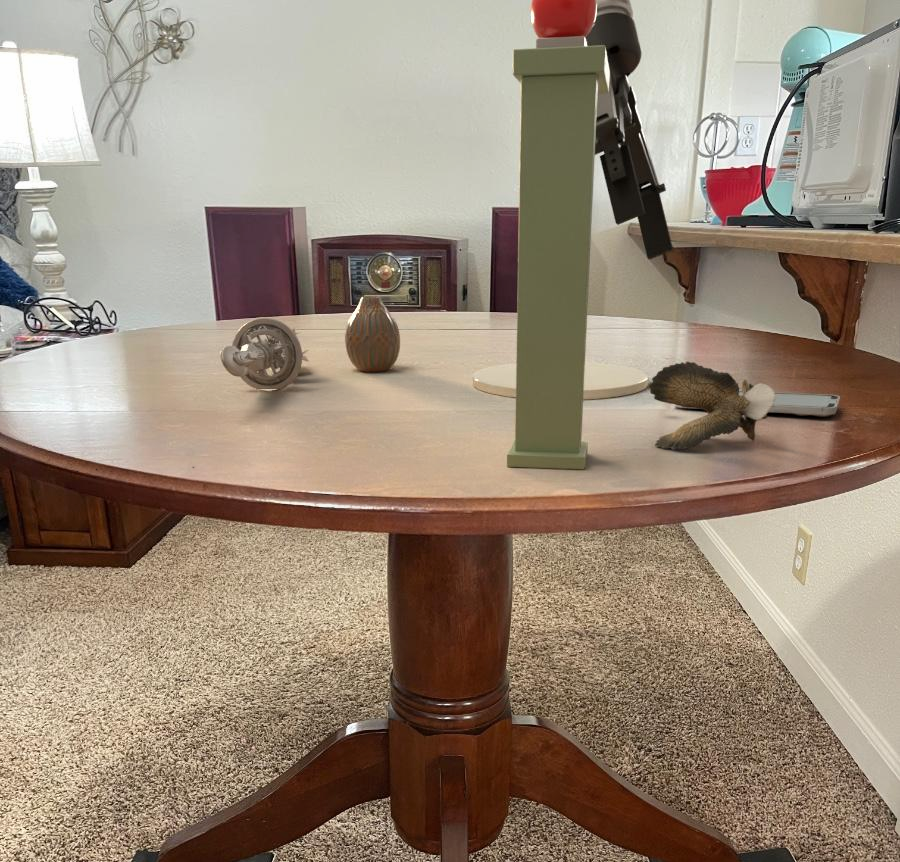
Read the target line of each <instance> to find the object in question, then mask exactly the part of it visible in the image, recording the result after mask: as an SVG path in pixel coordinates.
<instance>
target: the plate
mask: <svg viewBox="0 0 900 862" xmlns="http://www.w3.org/2000/svg"><path fill="white" fill-rule="evenodd" d="M649 378H650V377H649V374H648V373H647V372H645V371H643V370H640V369H639V368H635V367H630V366H625V365H620V364H619V365H618V364H612V363H602V362H591V361H585V373H584V394H583V401H585V400H586V401H587V400H597V399H599V400H601V399H609V398H611V399H612V398H617V397H618V398H619V397H624V396H628V395H629V396H630V395H633V394H636V393H639V392H643V391H644V390H646V389H648V385H649V380H650V379H649ZM472 385H473V387H474V388H476V389H477V390H479V391H482V392H484V393H487V394H492V395H497V396H502V397H510V398H516V362H513V363H504V364H497V365H492V366H487V367H484V368H481V369H479V370H477V371H474V373H473V374H472Z"/></svg>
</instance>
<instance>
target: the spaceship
mask: <svg viewBox="0 0 900 862" xmlns="http://www.w3.org/2000/svg"><path fill="white" fill-rule="evenodd" d="M301 333H302V332H300V334H301ZM298 334H299V332H296V330H295V327H293V328H291V327H289V326H288V325H287V324H285V323H284V322H282V321H280V320H279V319H275V318H272V317H257V318H253V319H251V320H249V321H247V322H246V323H244V324H243V325H242V326H241V327H240V328H239V329H238V330H237V332H236V333H235V335H234V338H233V340H232V344H231V345H226V346H224V347H222V349H221V350H220V352H219V354H220V355H219V359H220V361H221V363H222V366H223V368H224V369H225V370H226V371H227V372H228V373H229V374H230V375H231V376H234V377H237V378H240V379H241V380H242V381H243V382H244V383H245V384H246V385H248V386H250V387H251V388H252V389H255V388H256V389H255V390H258V389H280V390H283V389H285V388H287V387H288V386H290V384H292V383H293V382H294V380H296V378H297V377H298V375H299V373H300V371H301V367H302V364H303V361H305V362H310V360H309V358H308V357H307V356H306V355H305V354H306V353H307V352H308V351H310V349H305V350H304V351H303V350H302V349H303V348H302V346H301V343H300V340H299V338H298V336H297V335H298ZM261 336H265V337H266V338H263V339H262V338H261ZM255 338H256V339H257V342H256V341H253V340H254V339H255ZM278 369H279V370H278ZM268 370H269V371H272V373H273V374H268V372H267V371H268ZM276 370H278V371H276Z"/></svg>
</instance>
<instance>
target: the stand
mask: <svg viewBox="0 0 900 862" xmlns="http://www.w3.org/2000/svg"><path fill="white" fill-rule="evenodd" d="M512 75H513V77H514V78H515V79H516V80H517V81H518V83H520V121H519V122H520V125H519V129H520V130H519V180H518V181H519V183H518V184H519V187H518V239H517V242H518V245H517V299H516V301H517V302H516V303H517V304H516V305H517V306H516V308H517V309H516V310H517V311H516V358H515V359H516V361H515V363H516V397H515V417H514V418H515V419H514V420H515V423H514V424H515V425H514V428H515V429H514V440H513V442H512V444H511V446H510V448H509V450H508V452H507V454H506V468H507V467H508V468H529V469H530V468H531V469H557V470H585V469H586V463H587V457H588V451H589V450H588V449H589V442H588V441H582V436H583V435H582V434H583V433H582V432H583V413H584V400H583V394H584V373H585V362H586V352H587V351H586V350H587V348H586V347H587V329H588V328H587V327H588V307H589V306H588V305H589V287H590V285H589V284H590V267H591V266H590V264H591V243H592V220H593V218H592V217H593V199H594V179H595V157H596V155H595V141H596V140H595V138H596V117H597V96H598V94H605V93H609V78H610V71H609V65H608V59H607V53H606V47H605V45H598V46H576V47H555V48H536V47H535V48H516V49H513V50H512Z"/></svg>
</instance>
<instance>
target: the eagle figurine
mask: <svg viewBox="0 0 900 862" xmlns="http://www.w3.org/2000/svg"><path fill="white" fill-rule="evenodd" d="M651 380H652V381H651V382H650V383H648V386H647V389H648V390H649V389H650V390H649V393H650V394H651V395H654V397H653V399H654V400H656V401H658V402H661V403H666V404H670V405H674V404H675V405H679V406H682V407H688V408H687V409H697V408H699V410H703V411H705V412H706V413H707V414H706V415H703V416H701V417H698V418H696V419H692V420H690V421H688V422H686V423H683V424H681V426H679V427H678V428H677V429H675V430H674V431H673V432H671V433H668V434H665V435H662V436H660V437H658V439H657V440H656V441H655V442H656V443H654V446H655V447H656V448H662V449H670V448H671V450H675V449H678V450H684V449H688V448H692V447H694V446H696V445H700V444H702V442H705V441H708V440H710V439H711V438H714V437H716V436H720V435H730V434H731V433H733V432H735V431H737V430H739V428H741V430H742V431H743V433H745V434H746V435H747V438H748V439H749V440H751V441H752V442H754V441H755V439H756V433H755V432H756V431H755V430H756V429H755V428H756V422H757V421H760V420H766V419H768V415H767V414H768V413H770V412H769V411H770V410H771V409H772V407H773V405H774V401H775V398H776V397H775V392H776V391H774V389H773V388H772V387H771V386H769V385H768V384H765V383H763V382H759V383H756V384H755V385H753V384H752V383H748V380H747V379H742V382H741V391H743V395H742V396H739V391H740V387H739V383H738V382H737V381H736V380H735V379H734V377H733V376H732V375H731V374H730V373H729V372H723V371H721V372H719V371H718V370H713V369H712V368H708V367H704V366H702V365H698V363H696V362H695V361H691V362H690V361H686V362H680V363H675V364H670V365H669V366H663V367H662V370H659V371H658V372H657V373H656V375H654V376H653V377H652V378H651Z"/></svg>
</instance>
